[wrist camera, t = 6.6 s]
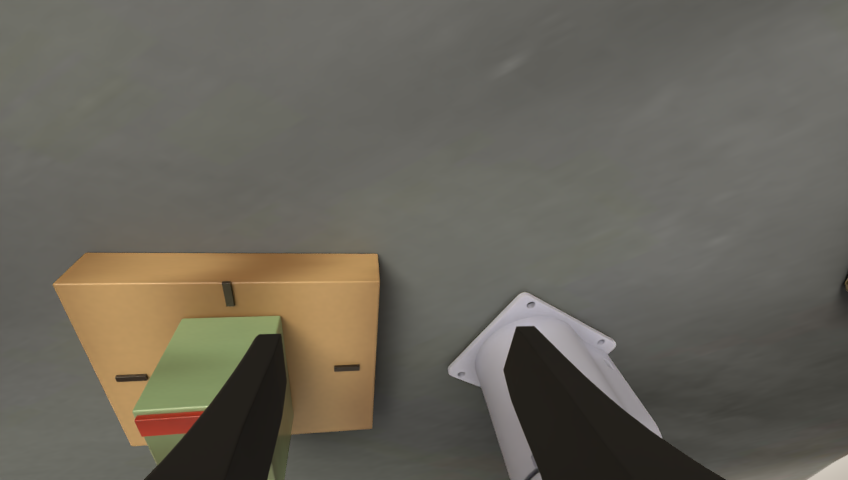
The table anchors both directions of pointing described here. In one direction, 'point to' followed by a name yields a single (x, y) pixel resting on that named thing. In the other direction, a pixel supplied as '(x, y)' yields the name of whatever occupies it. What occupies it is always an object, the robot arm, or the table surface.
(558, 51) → the table surface
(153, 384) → the box
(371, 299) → the tan flat block
